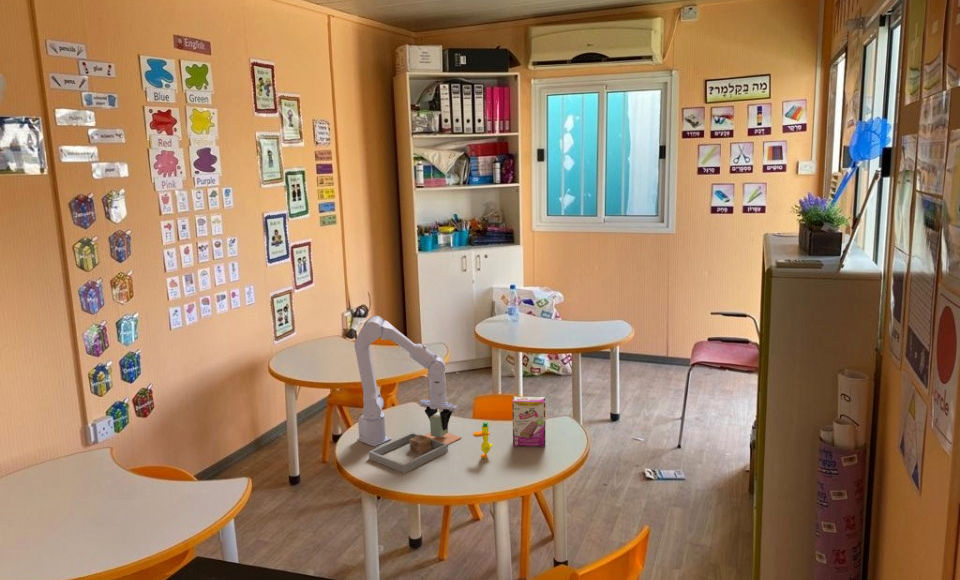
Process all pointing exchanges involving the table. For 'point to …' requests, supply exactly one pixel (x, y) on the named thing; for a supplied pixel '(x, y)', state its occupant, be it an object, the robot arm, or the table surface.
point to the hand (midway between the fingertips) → (439, 428)
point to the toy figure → (484, 439)
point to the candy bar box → (529, 421)
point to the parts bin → (377, 456)
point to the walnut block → (420, 444)
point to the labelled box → (437, 426)
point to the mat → (444, 438)
